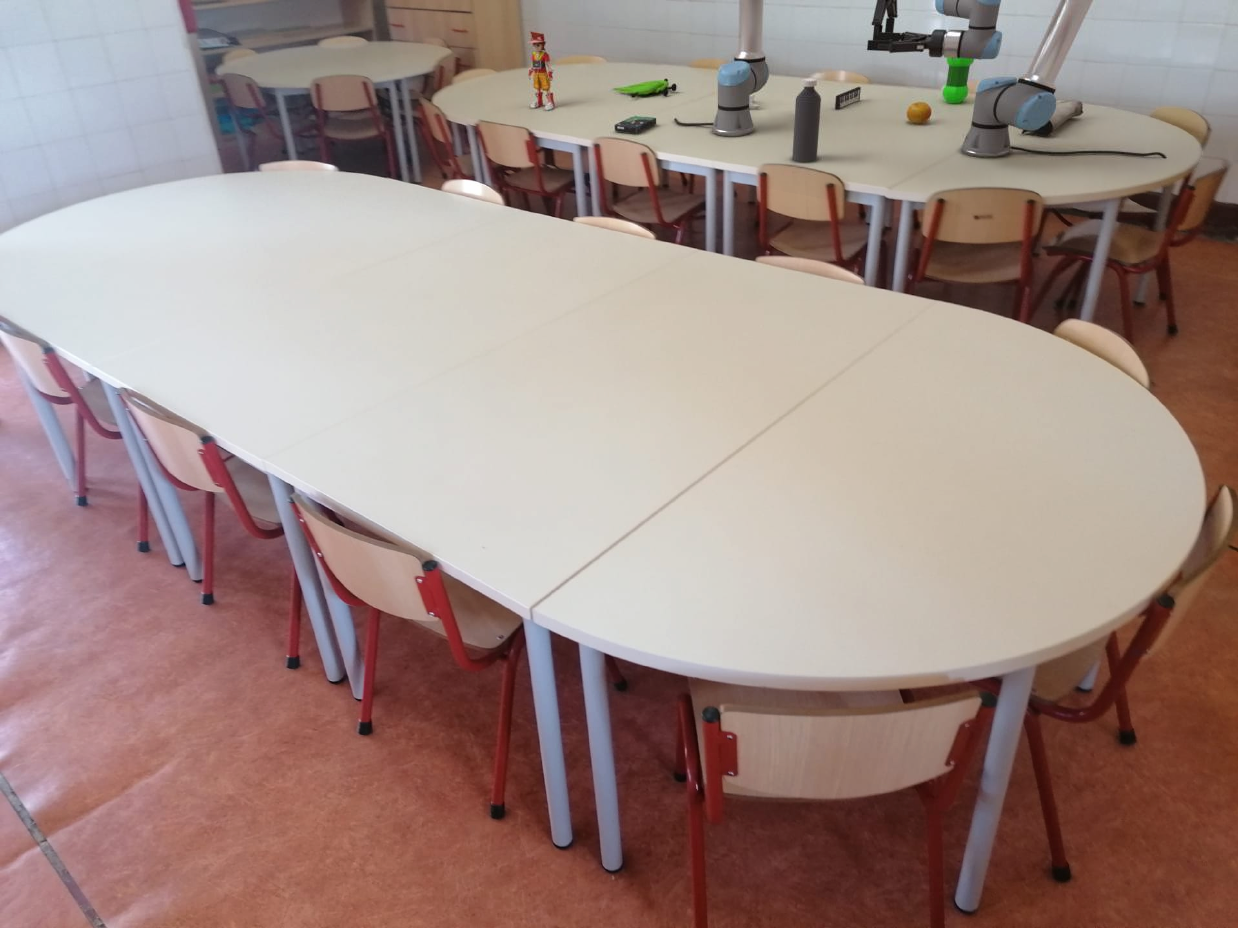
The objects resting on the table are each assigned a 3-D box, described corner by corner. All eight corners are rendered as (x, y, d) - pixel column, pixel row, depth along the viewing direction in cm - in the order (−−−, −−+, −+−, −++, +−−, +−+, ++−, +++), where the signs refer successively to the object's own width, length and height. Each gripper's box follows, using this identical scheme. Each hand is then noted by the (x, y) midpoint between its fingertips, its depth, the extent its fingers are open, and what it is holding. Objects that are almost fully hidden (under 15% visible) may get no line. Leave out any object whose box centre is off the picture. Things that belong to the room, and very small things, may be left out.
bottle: (819, 156, 305) (825, 79, 291) (812, 163, 299) (818, 84, 285) (796, 154, 308) (801, 77, 294) (789, 161, 302) (793, 83, 288)
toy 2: (686, 85, 398) (631, 84, 414) (685, 72, 395) (629, 72, 411) (651, 104, 381) (596, 103, 397) (650, 92, 378) (594, 91, 394)
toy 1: (525, 109, 381) (517, 32, 364) (534, 104, 388) (527, 28, 371) (550, 110, 377) (543, 32, 360) (559, 105, 384) (553, 28, 367)
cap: (818, 84, 291) (818, 78, 290) (814, 87, 288) (814, 81, 287) (804, 83, 293) (804, 78, 292) (800, 86, 289) (800, 81, 288)
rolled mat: (1050, 105, 331) (1074, 88, 323) (1064, 126, 331) (1088, 109, 323) (1017, 127, 314) (1042, 110, 305) (1032, 149, 314) (1057, 132, 306)
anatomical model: (725, 81, 368) (749, 74, 367) (729, 106, 374) (753, 100, 373) (732, 89, 356) (756, 82, 355) (736, 115, 362) (760, 109, 361)
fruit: (901, 115, 329) (915, 95, 326) (903, 118, 337) (916, 98, 334) (920, 127, 328) (935, 107, 325) (921, 130, 336) (935, 111, 333)
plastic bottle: (973, 101, 354) (984, 32, 339) (955, 106, 349) (966, 36, 335) (952, 97, 361) (962, 29, 346) (934, 102, 356) (944, 33, 342)
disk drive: (637, 135, 339) (656, 124, 349) (637, 127, 338) (656, 117, 348) (614, 132, 344) (634, 122, 354) (613, 125, 343) (633, 115, 353)
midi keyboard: (837, 109, 354) (838, 96, 352) (834, 109, 355) (835, 95, 352) (859, 100, 365) (861, 87, 362) (857, 99, 366) (858, 86, 363)
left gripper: (889, -22, 284) (882, 50, 296) (911, -32, 302) (903, 36, 314) (866, -23, 288) (860, 49, 300) (889, -33, 305) (882, 35, 317)
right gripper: (934, 66, 259) (861, 62, 267) (950, 49, 277) (881, 47, 285) (938, 37, 255) (864, 35, 263) (954, 23, 273) (884, 21, 281)
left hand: (882, 43), depth 307 cm, fingers open, 13 cm apart
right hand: (873, 41), depth 274 cm, fingers open, 13 cm apart
